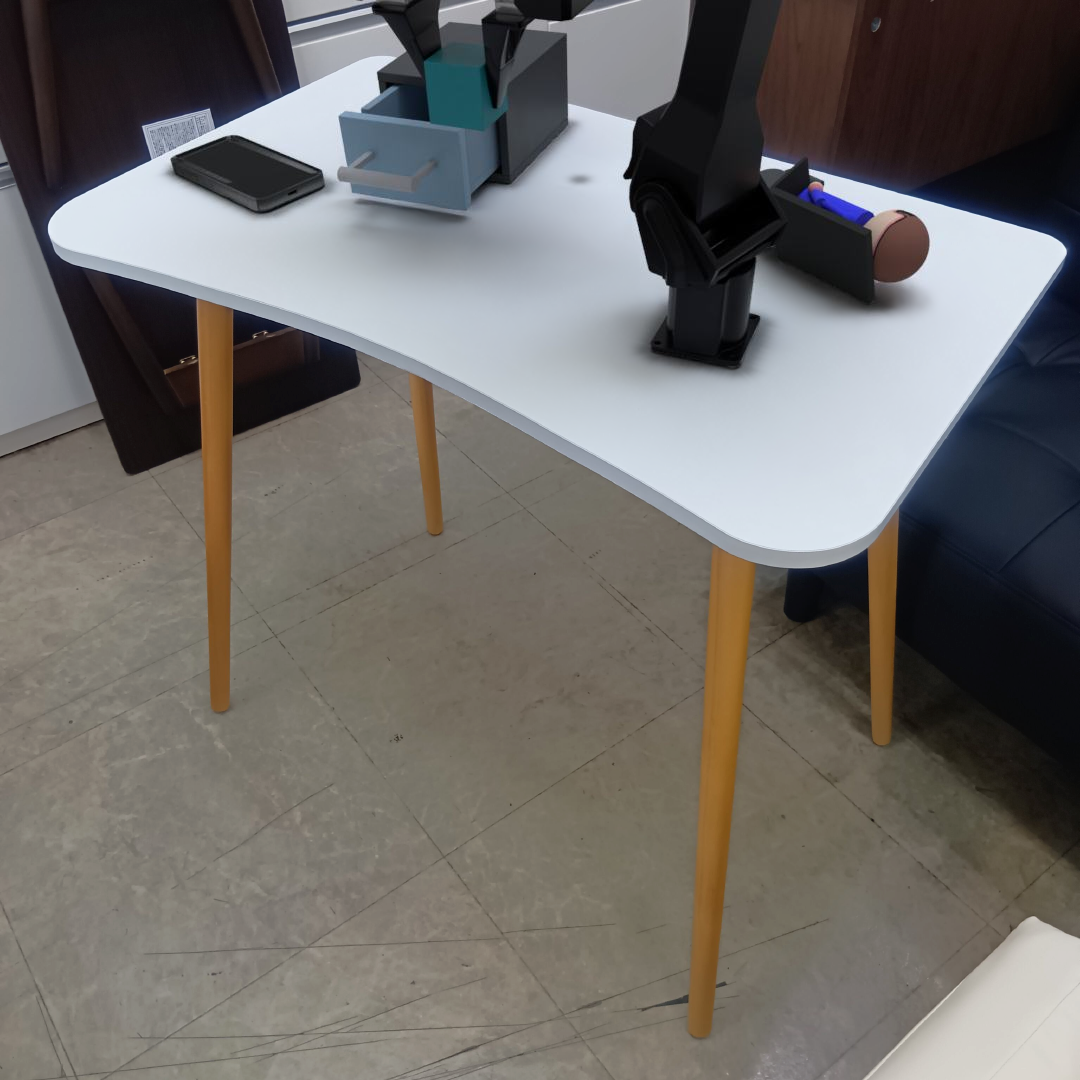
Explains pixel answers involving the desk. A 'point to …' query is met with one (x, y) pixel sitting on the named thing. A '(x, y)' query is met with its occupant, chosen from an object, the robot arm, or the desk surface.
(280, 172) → the phone
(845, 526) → the desk surface
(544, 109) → the drawer cabinet
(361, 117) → the light blue drawer
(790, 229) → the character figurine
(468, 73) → the teal cube
